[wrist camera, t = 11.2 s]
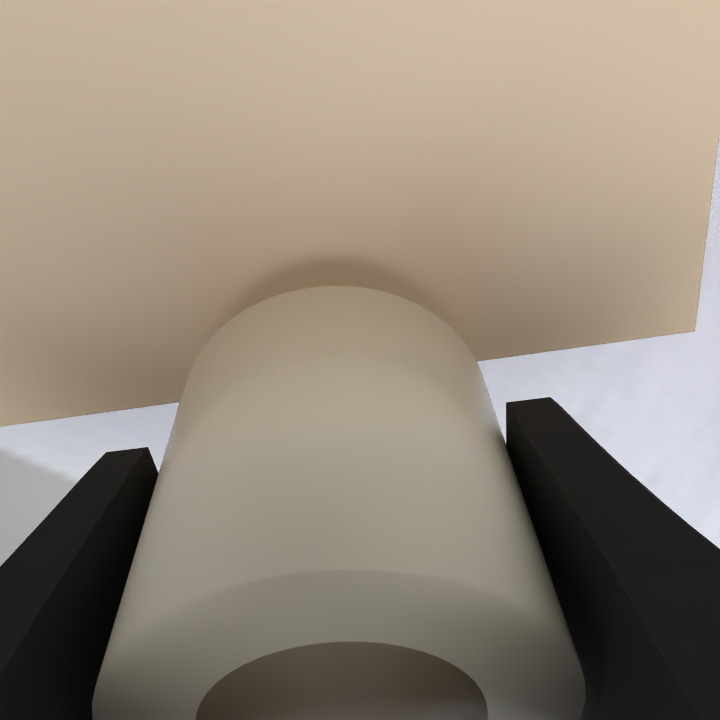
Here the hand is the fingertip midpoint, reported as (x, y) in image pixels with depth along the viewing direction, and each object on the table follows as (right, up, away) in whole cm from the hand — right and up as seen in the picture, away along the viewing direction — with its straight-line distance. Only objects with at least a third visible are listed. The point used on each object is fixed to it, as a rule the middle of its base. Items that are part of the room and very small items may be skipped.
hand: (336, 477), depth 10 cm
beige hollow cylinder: (0, +1, +1) cm, 2 cm away
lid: (-1, +7, 0) cm, 7 cm away
